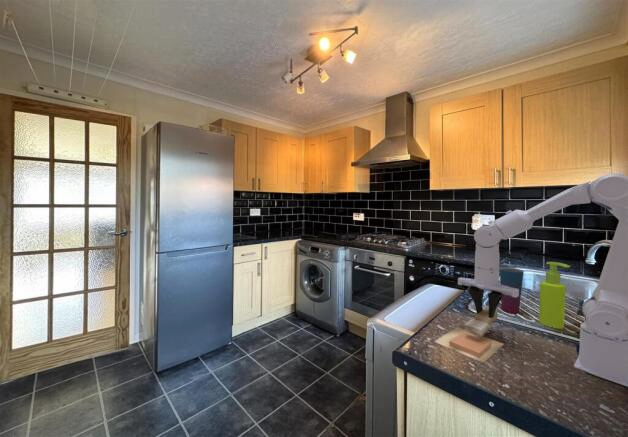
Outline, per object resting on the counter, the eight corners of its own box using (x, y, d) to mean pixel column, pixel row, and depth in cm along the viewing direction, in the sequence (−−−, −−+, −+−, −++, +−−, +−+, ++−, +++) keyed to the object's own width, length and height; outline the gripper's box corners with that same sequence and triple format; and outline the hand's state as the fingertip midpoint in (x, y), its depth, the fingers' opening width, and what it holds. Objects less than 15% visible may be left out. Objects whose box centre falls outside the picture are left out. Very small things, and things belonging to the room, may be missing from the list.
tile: (491, 342, 67) (478, 352, 62) (491, 347, 67) (478, 357, 62) (462, 332, 72) (449, 341, 68) (462, 336, 73) (449, 345, 68)
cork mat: (504, 345, 69) (504, 343, 69) (483, 364, 60) (483, 362, 60) (457, 328, 78) (457, 327, 78) (433, 343, 70) (433, 341, 70)
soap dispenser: (559, 331, 77) (562, 265, 76) (534, 321, 83) (536, 260, 83) (572, 329, 78) (575, 264, 78) (547, 319, 85) (549, 259, 84)
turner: (500, 319, 75) (500, 309, 75) (481, 337, 66) (481, 326, 66) (485, 314, 78) (485, 305, 78) (464, 331, 70) (464, 320, 69)
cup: (527, 314, 89) (528, 272, 88) (507, 314, 89) (508, 271, 88) (512, 307, 96) (513, 267, 95) (494, 307, 96) (495, 267, 95)
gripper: (453, 265, 76) (452, 310, 76) (513, 275, 64) (511, 328, 65) (464, 262, 80) (462, 305, 81) (522, 271, 68) (520, 321, 69)
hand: (485, 315), depth 73 cm, fingers closed on turner, 2 cm apart
